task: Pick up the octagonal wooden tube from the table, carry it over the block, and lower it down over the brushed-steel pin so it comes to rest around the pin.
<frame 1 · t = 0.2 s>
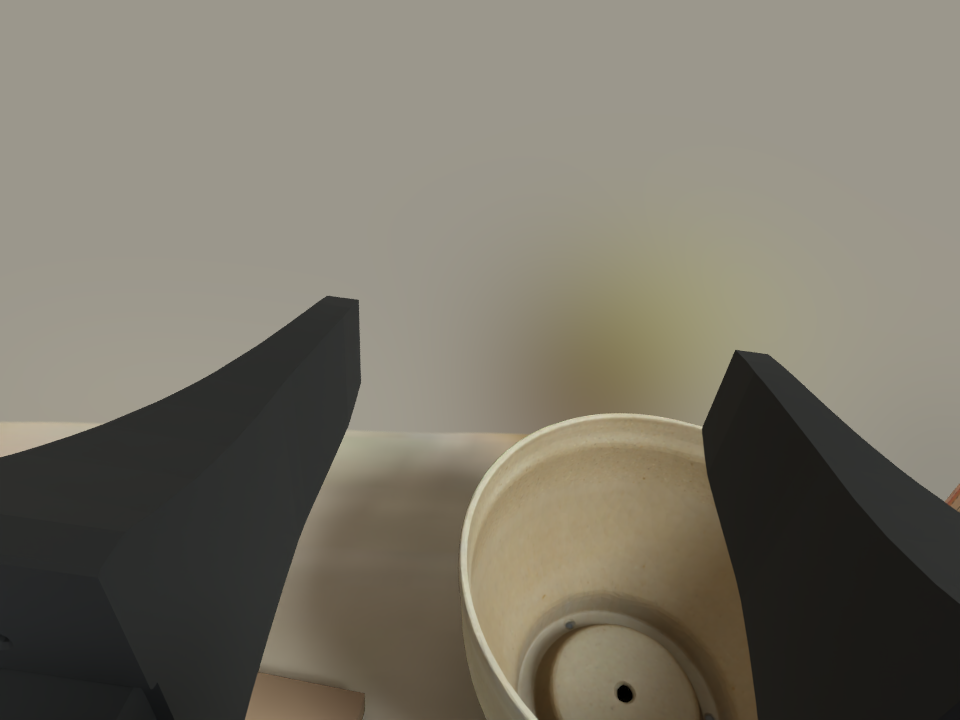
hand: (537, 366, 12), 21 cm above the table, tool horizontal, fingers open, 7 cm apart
planter bowl: (614, 715, 28), on the table
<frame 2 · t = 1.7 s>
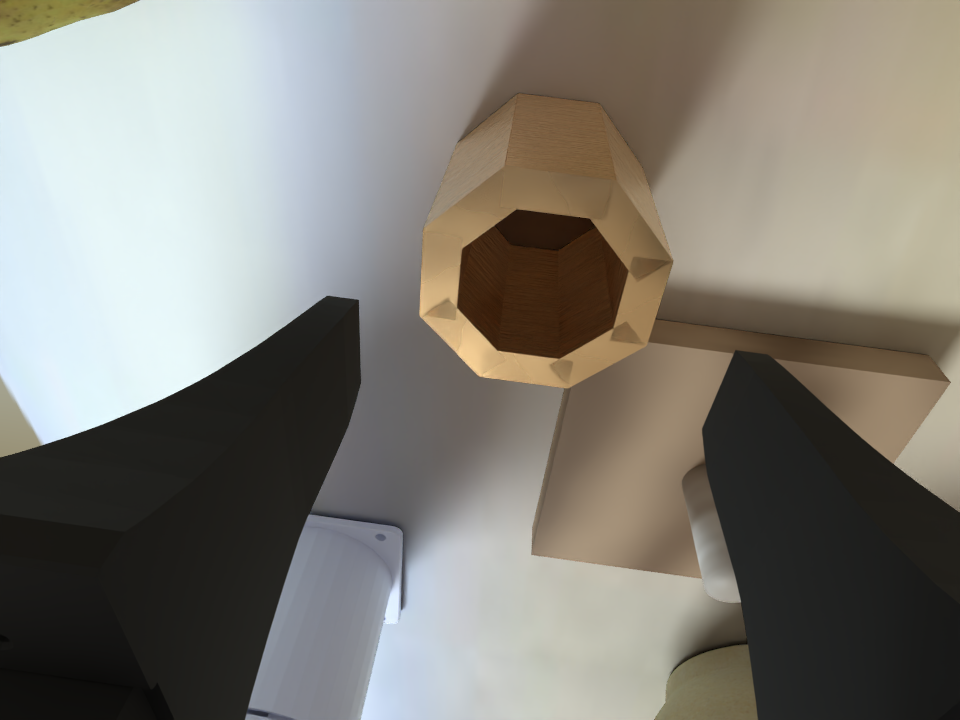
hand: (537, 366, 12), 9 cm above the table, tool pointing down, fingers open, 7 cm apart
planter bowl: (748, 680, 35), on the table
pin block: (701, 454, 25), on the table
octagonal wooden tube: (543, 192, 19), on the table
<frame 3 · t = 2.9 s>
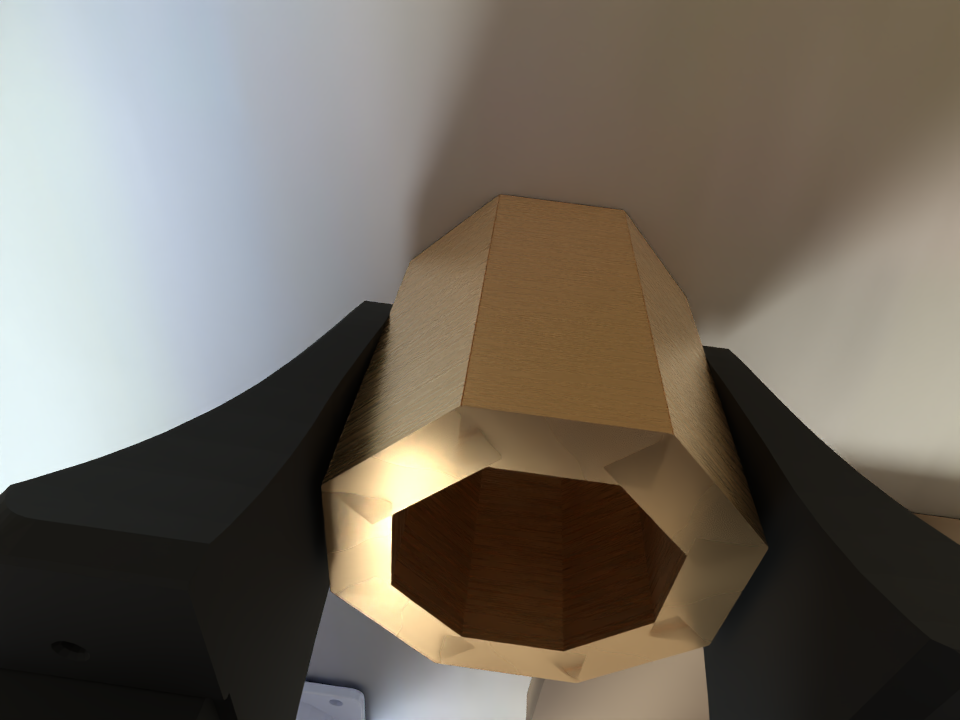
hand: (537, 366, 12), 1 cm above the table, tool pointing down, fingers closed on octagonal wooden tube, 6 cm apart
pin block: (748, 630, 19), on the table
octagonal wooden tube: (538, 326, 13), on the table, touching gripper
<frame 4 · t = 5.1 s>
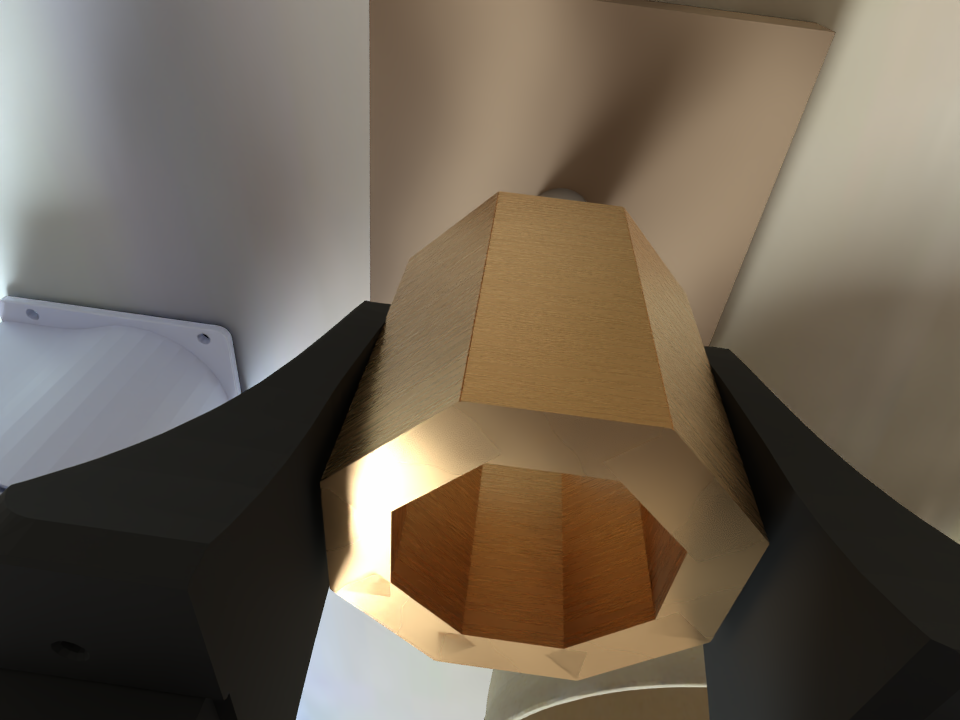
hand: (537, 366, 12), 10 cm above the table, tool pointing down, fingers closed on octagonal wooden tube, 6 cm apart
planter bowl: (656, 542, 31), on the table
pin block: (558, 200, 21), on the table
octagonal wooden tube: (538, 324, 13), point 9 cm above the table, touching gripper
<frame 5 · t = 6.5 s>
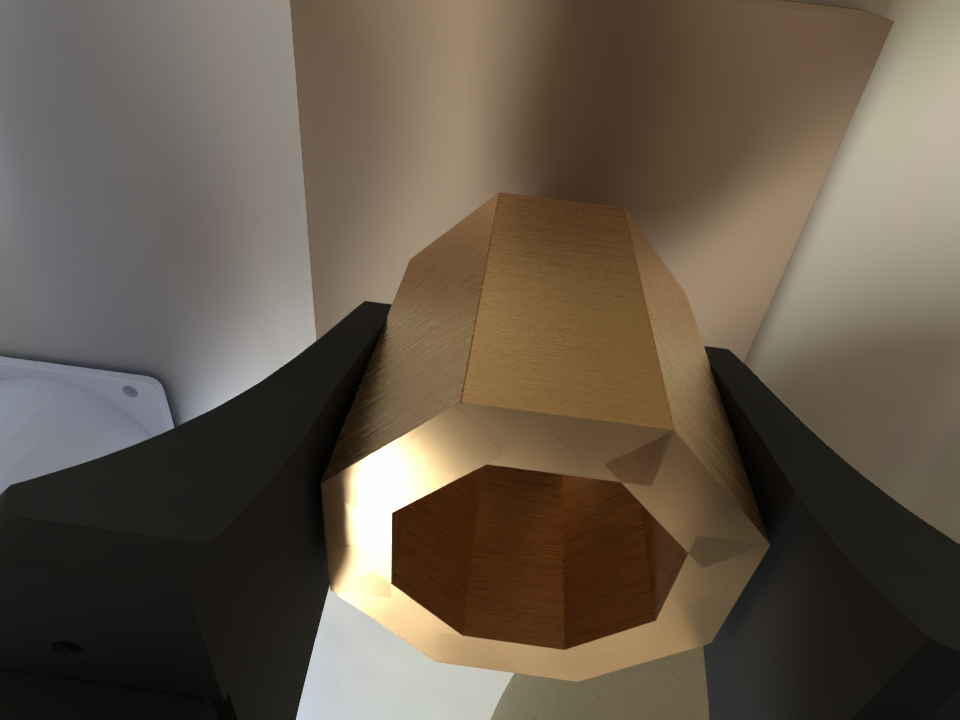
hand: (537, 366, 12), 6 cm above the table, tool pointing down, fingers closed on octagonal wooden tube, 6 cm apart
planter bowl: (663, 608, 27), on the table
pin block: (541, 231, 17), on the table
octagonal wooden tube: (539, 325, 13), point 5 cm above the table, touching gripper
when the fingers open (4 cm above the table, at t = 7.5 s): octagonal wooden tube drops 1 cm, resting on pin block.
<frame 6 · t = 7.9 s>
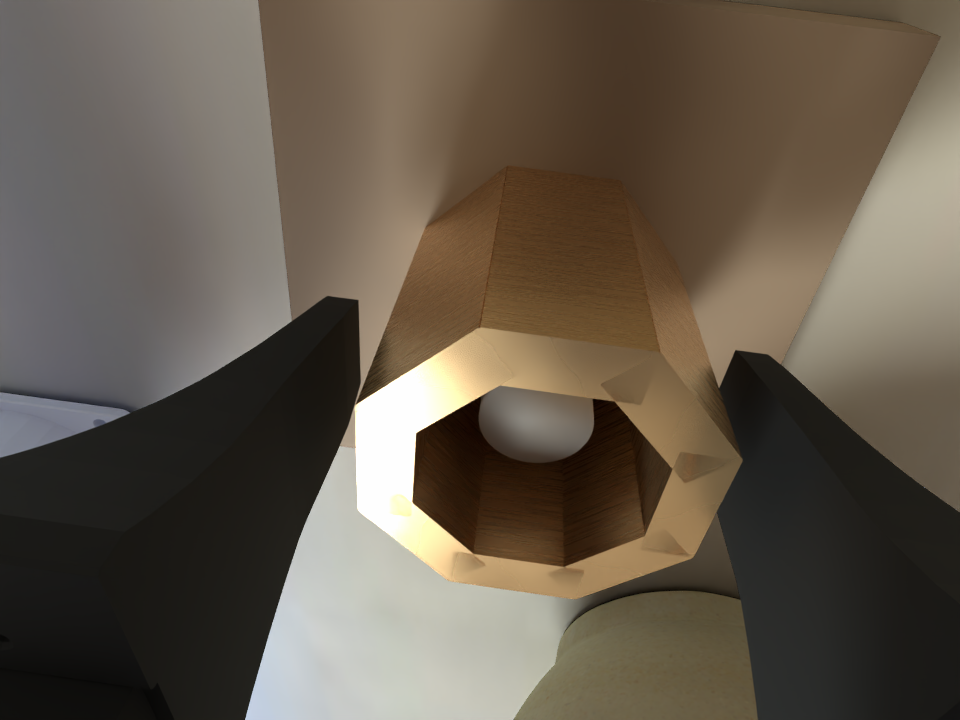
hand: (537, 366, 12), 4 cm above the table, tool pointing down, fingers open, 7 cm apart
planter bowl: (669, 646, 26), on the table
pin block: (541, 261, 16), on the table
octagonal wooden tube: (541, 290, 14), point 1 cm above the table, touching pin block
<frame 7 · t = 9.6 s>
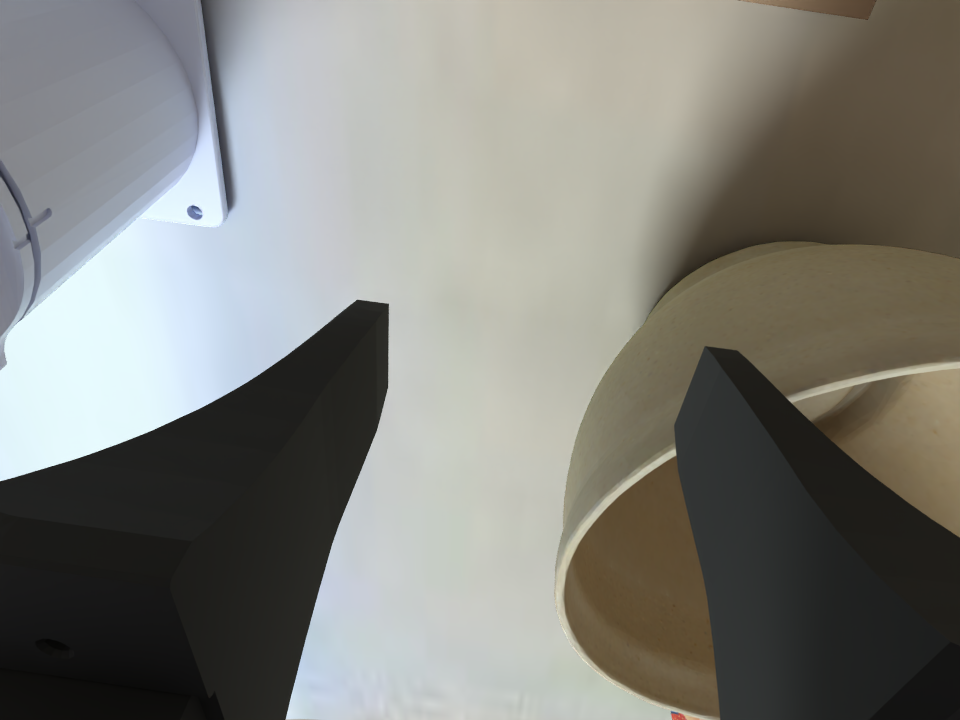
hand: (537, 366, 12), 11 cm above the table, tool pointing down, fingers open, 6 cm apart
planter bowl: (753, 343, 24), on the table, touching gripper
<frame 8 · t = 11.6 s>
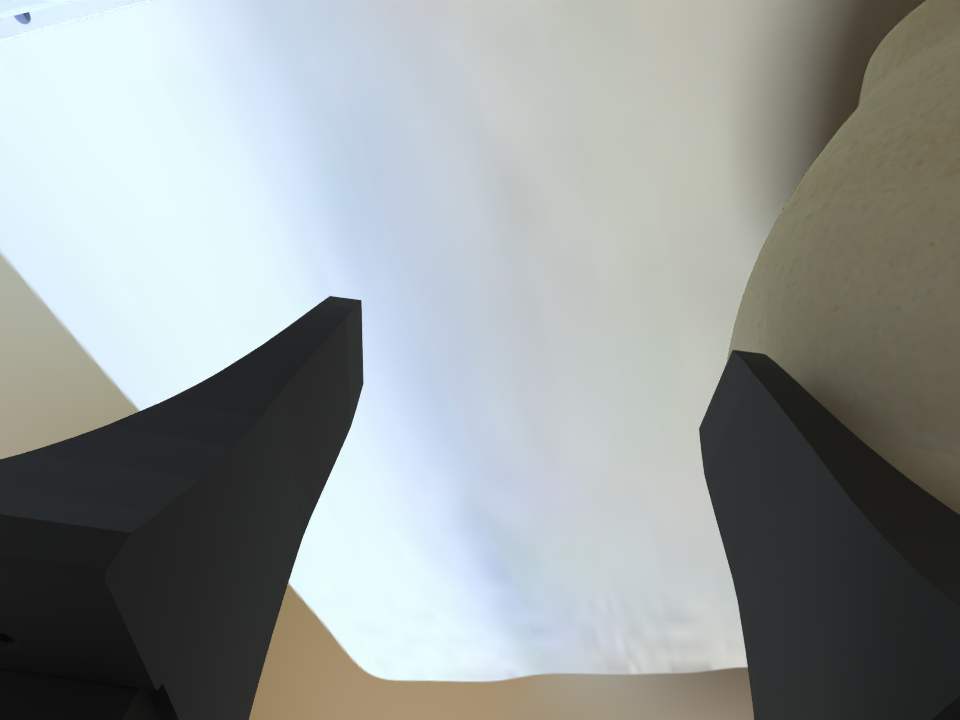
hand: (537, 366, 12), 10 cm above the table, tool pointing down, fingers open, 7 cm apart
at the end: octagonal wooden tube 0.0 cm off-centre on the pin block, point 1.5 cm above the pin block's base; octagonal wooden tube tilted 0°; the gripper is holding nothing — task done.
